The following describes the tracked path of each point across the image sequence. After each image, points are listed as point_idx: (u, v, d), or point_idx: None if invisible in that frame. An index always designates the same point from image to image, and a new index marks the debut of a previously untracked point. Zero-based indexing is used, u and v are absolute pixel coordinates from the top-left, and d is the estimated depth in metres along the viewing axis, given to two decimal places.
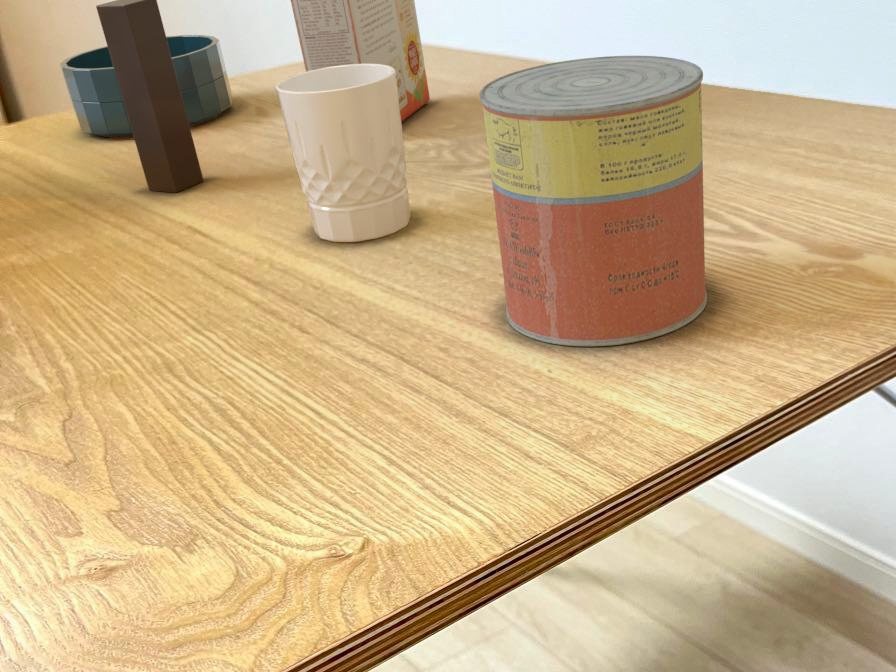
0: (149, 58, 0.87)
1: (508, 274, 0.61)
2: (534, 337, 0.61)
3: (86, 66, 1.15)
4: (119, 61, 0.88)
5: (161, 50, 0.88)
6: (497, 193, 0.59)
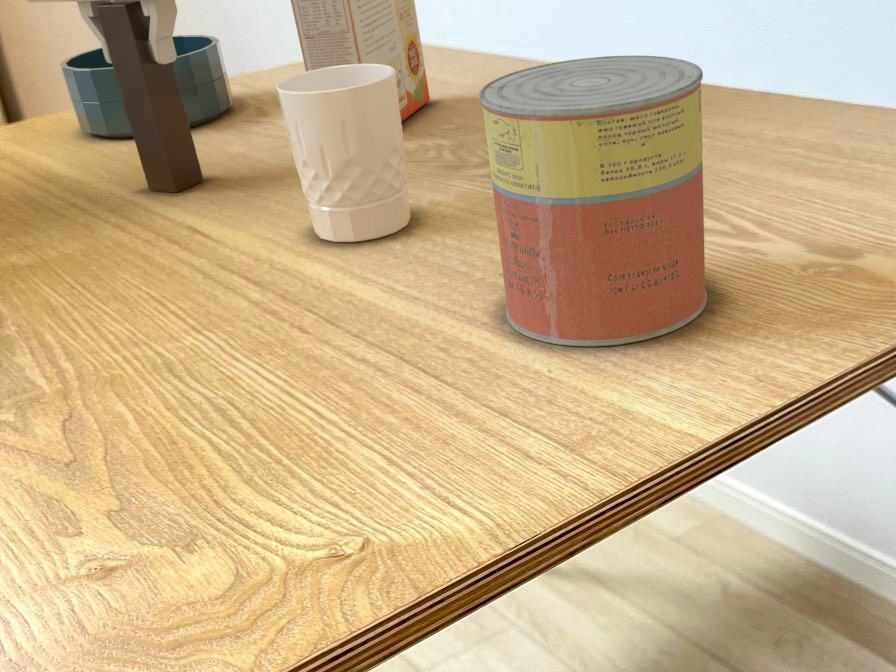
0: None
1: (508, 274, 0.61)
2: (534, 337, 0.61)
3: (86, 66, 1.15)
4: (118, 61, 0.88)
5: None
6: (497, 193, 0.59)
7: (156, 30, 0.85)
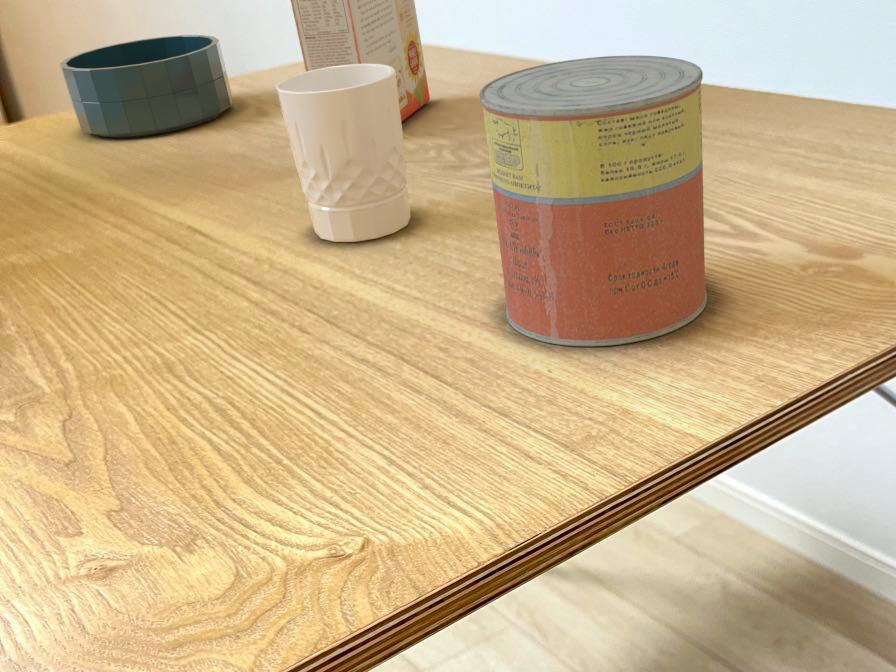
0: None
1: (508, 274, 0.61)
2: (534, 337, 0.61)
3: (86, 66, 1.15)
4: None
5: None
6: (497, 193, 0.59)
7: None
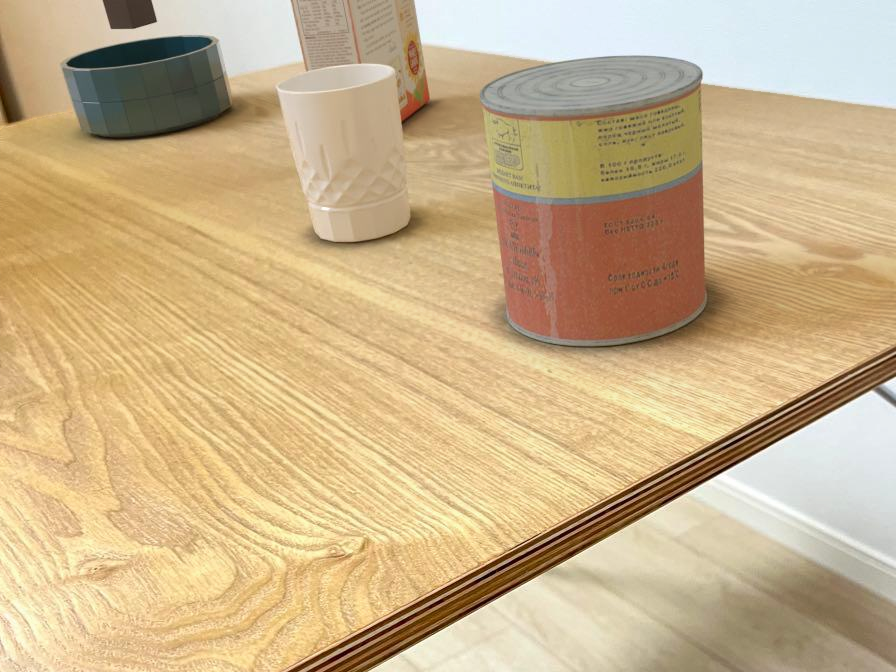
0: None
1: (508, 274, 0.61)
2: (534, 337, 0.61)
3: (86, 66, 1.15)
4: None
5: None
6: (497, 193, 0.59)
7: None
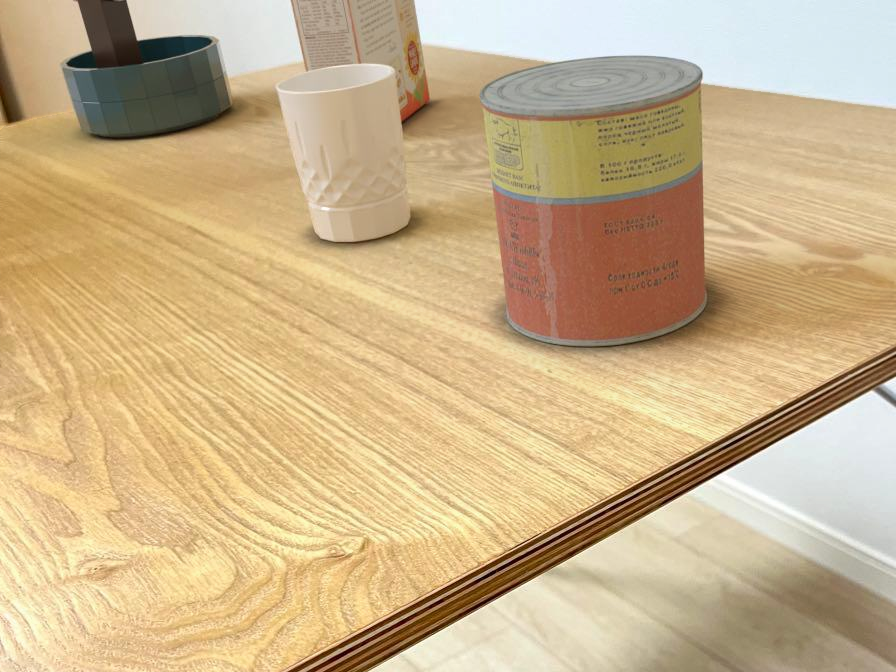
0: None
1: (508, 274, 0.61)
2: (534, 337, 0.61)
3: (86, 66, 1.15)
4: None
5: None
6: (497, 193, 0.59)
7: None
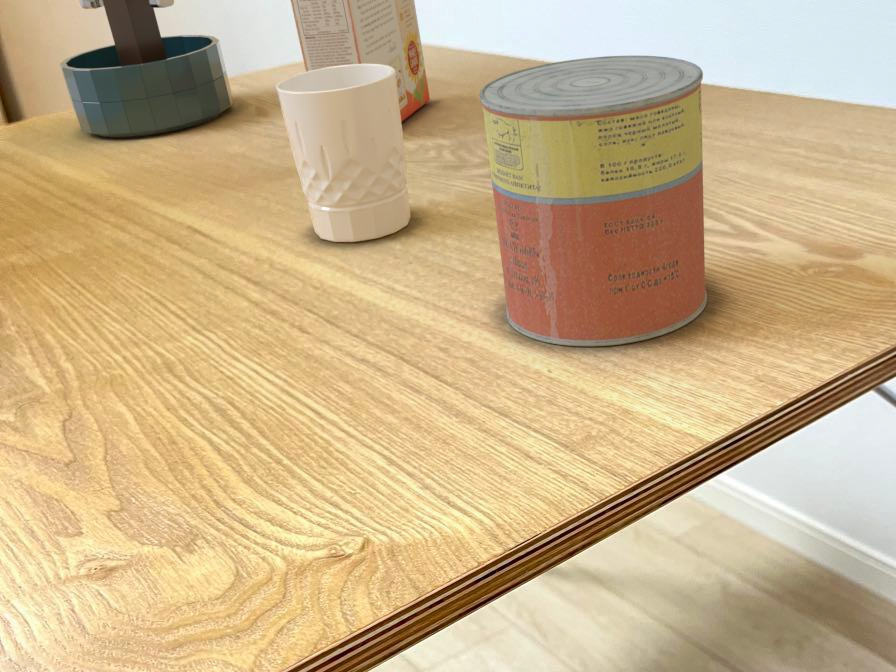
0: (135, 6, 1.09)
1: (508, 274, 0.61)
2: (534, 337, 0.61)
3: (86, 66, 1.15)
4: (110, 8, 1.09)
5: (145, 0, 1.10)
6: (497, 193, 0.59)
7: None
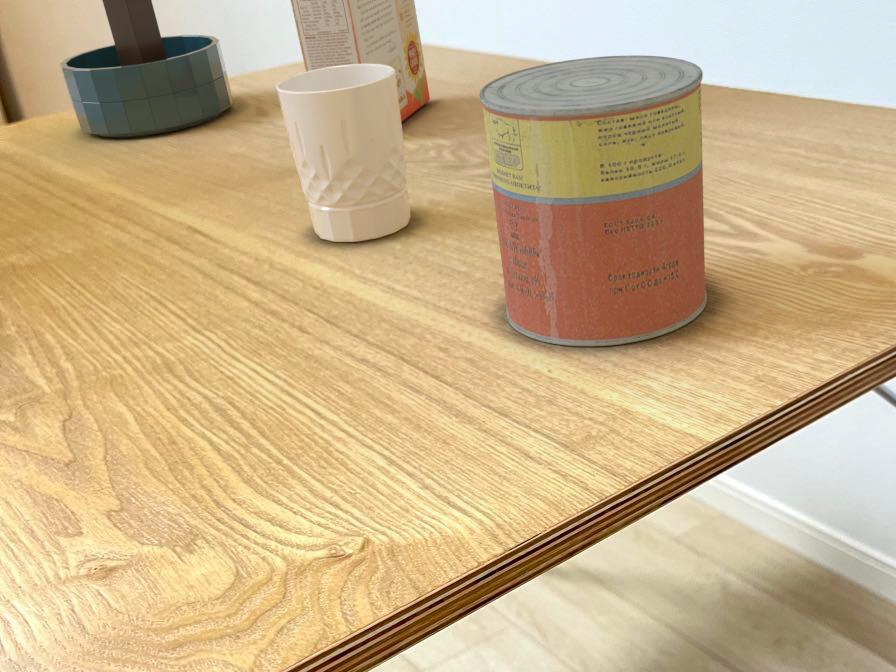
0: (135, 6, 1.09)
1: (508, 274, 0.61)
2: (534, 337, 0.61)
3: (86, 66, 1.15)
4: (110, 8, 1.09)
5: (145, 0, 1.10)
6: (497, 193, 0.59)
7: None
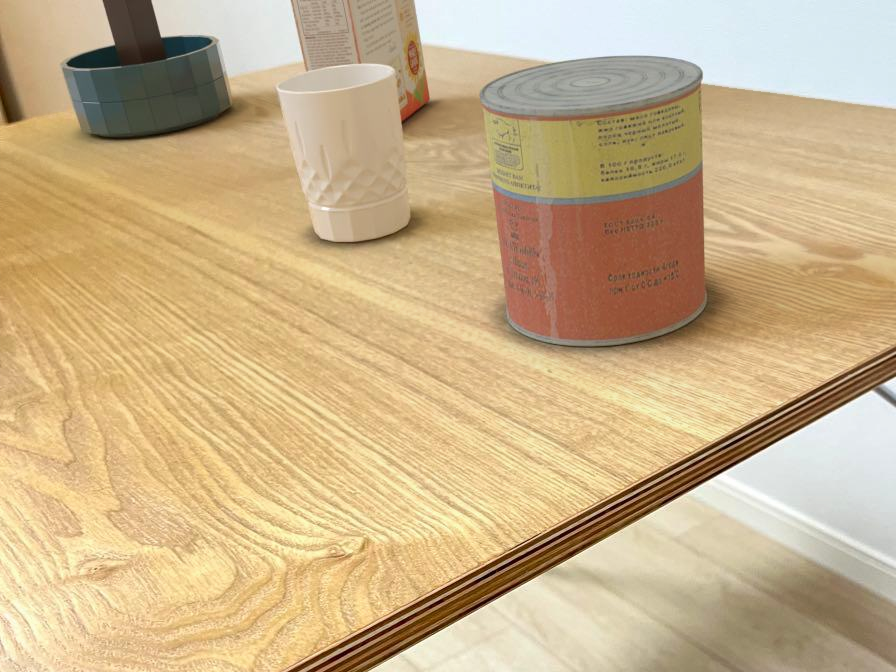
0: (135, 6, 1.09)
1: (508, 274, 0.61)
2: (534, 337, 0.61)
3: (86, 66, 1.15)
4: (110, 8, 1.09)
5: (145, 0, 1.10)
6: (497, 193, 0.59)
7: None
